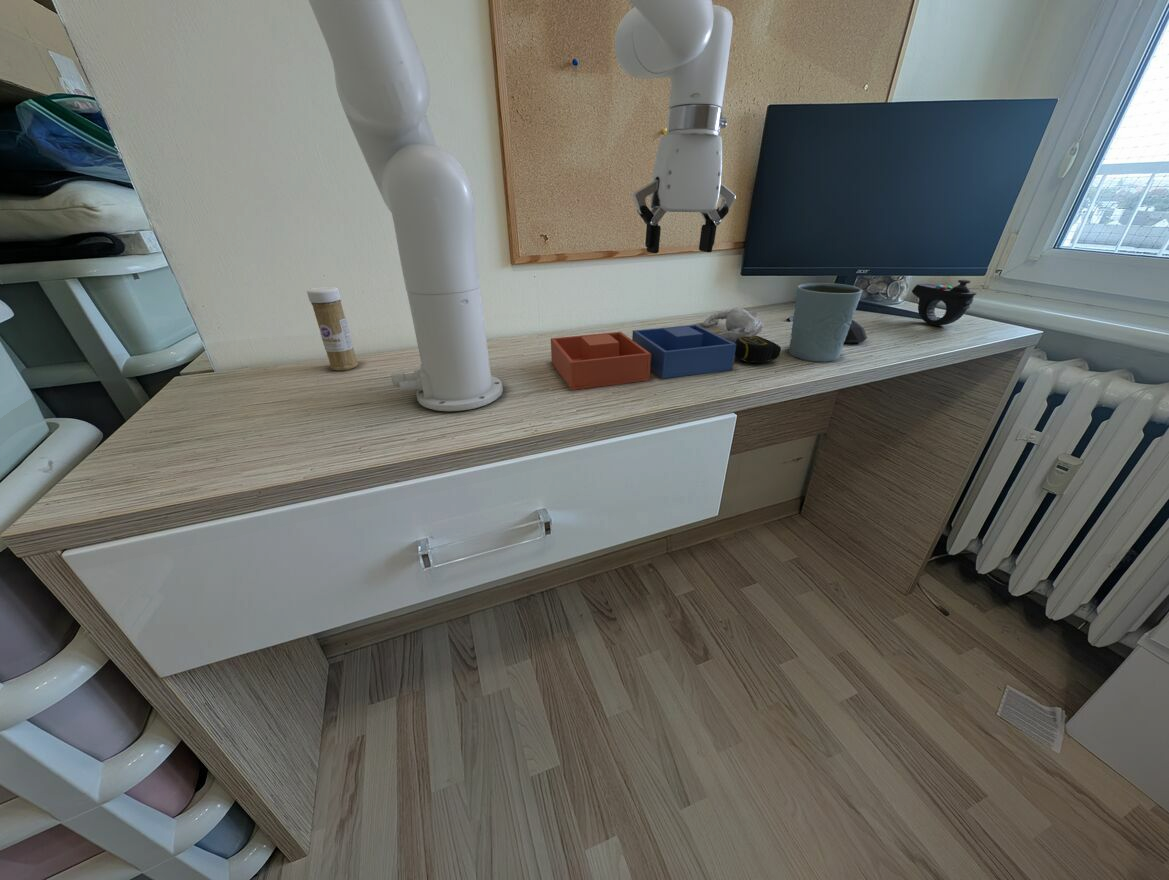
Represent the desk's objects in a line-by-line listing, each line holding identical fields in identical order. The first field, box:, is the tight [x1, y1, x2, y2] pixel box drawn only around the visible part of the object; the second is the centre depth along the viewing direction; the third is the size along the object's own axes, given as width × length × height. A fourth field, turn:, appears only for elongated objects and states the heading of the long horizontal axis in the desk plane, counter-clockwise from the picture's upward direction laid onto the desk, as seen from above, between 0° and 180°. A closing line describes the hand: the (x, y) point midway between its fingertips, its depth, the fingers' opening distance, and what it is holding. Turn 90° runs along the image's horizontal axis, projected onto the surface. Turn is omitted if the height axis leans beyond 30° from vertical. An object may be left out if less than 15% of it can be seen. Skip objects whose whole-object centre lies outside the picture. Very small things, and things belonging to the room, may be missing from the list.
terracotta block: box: [581, 334, 619, 360], centre depth 73 cm, size 5×5×5 cm
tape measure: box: [734, 335, 782, 364], centre depth 78 cm, size 7×7×4 cm
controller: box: [911, 279, 978, 327], centre depth 97 cm, size 4×12×10 cm, turn 17°
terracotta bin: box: [550, 331, 651, 391], centre depth 73 cm, size 13×13×4 cm
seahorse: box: [702, 307, 764, 343], centre depth 92 cm, size 5×12×20 cm
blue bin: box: [631, 324, 736, 380], centre depth 77 cm, size 13×13×4 cm
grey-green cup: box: [788, 282, 863, 363], centre depth 78 cm, size 10×10×12 cm
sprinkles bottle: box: [306, 285, 359, 371], centre depth 74 cm, size 5×5×14 cm
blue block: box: [662, 327, 703, 351], centre depth 77 cm, size 5×5×5 cm
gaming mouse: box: [844, 319, 868, 344], centre depth 91 cm, size 6×15×4 cm, turn 16°
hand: (679, 251), depth 72 cm, fingers open, 9 cm apart
